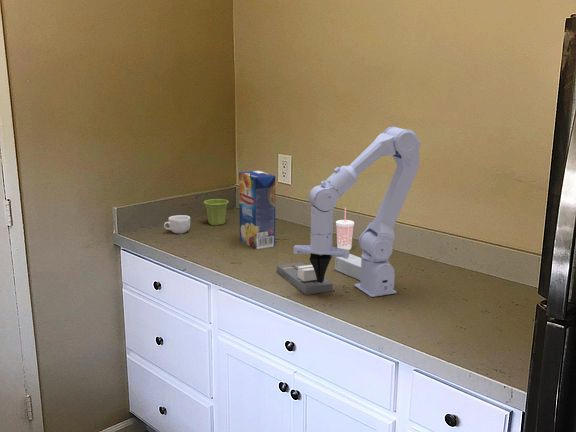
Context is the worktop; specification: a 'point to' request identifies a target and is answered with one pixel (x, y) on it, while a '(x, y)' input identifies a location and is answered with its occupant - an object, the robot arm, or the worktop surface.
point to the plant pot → (216, 211)
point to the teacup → (178, 223)
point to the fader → (306, 273)
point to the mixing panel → (305, 286)
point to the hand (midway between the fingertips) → (320, 281)
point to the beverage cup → (344, 233)
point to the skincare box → (349, 266)
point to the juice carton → (257, 209)
